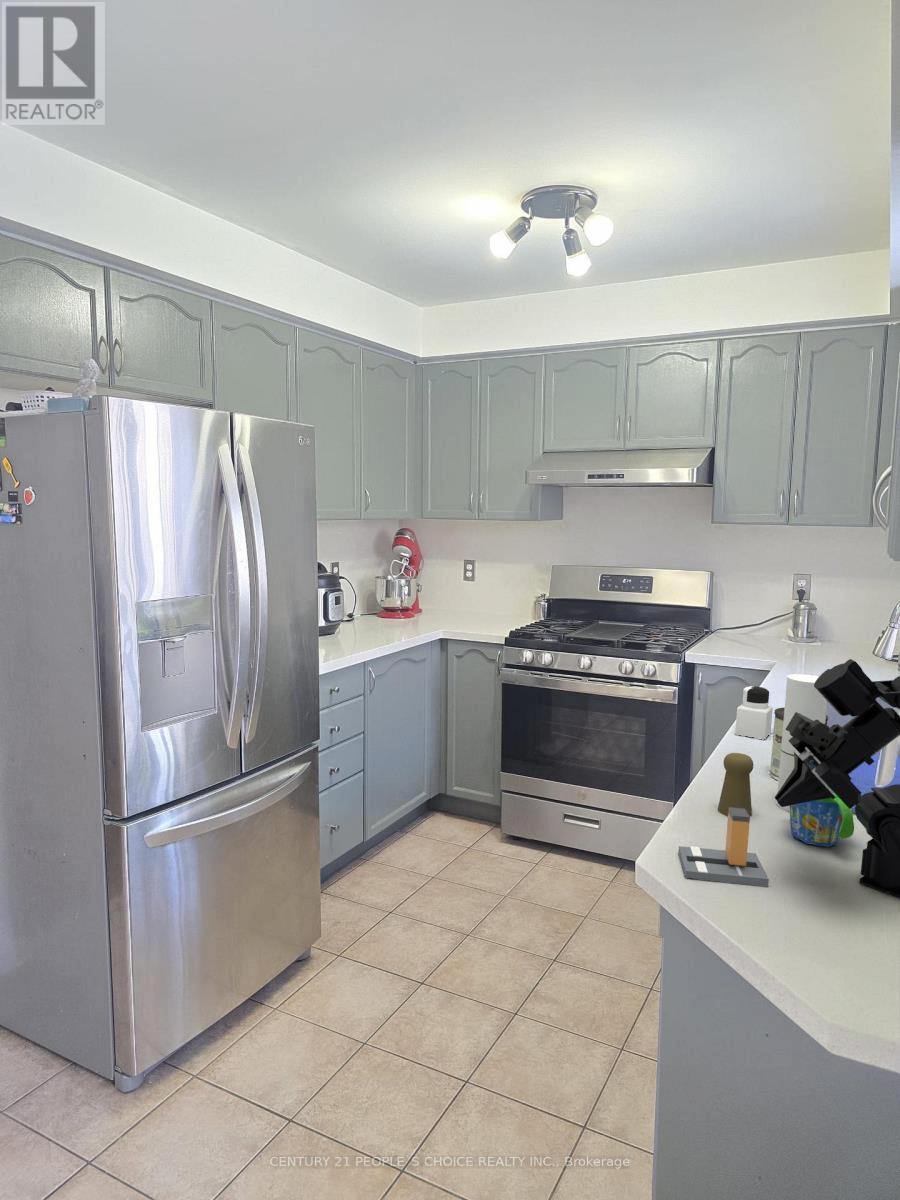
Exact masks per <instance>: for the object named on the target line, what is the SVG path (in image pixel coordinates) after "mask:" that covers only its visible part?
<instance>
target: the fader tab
mask: <svg viewBox="0 0 900 1200" xmlns="http://www.w3.org/2000/svg"><path fill="white" fill-rule="evenodd" d="M750 819H751V816H749V815H748V813H747V811H746V809H743V808H732V807H729V810H728V816H727V824H726V838H725V849H724V850H725V856H726V858H727V860H728V863H729V864H730V865H731V866H735V865H738V866H740V865H742V866H746V860H747V853H748V845H749V834H750V821H751V820H750Z"/></svg>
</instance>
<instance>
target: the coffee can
mask: <svg viewBox="0 0 900 1200" xmlns="http://www.w3.org/2000/svg"><path fill="white" fill-rule="evenodd" d="M784 709H785V706H784V707H778V708H776V709H774V722H773V723H774V724H773V733H772V734H773V735H772V746H771V747H772V748H771V759H770V761H771V762H770V769H769V770H770V772H769V775H770V777H771V778H772V779H773V780H775V779H776V780H775V781H778V780H779V768H780V757H781V745H782V733H783V721H784ZM828 720H829V716H828V714H826V720H825V724H826V725H827V726H828Z"/></svg>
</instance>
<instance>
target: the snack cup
mask: <svg viewBox="0 0 900 1200" xmlns="http://www.w3.org/2000/svg"><path fill="white" fill-rule="evenodd" d="M788 777H789V776H788ZM788 777H787V778H788ZM786 780H787V779H786ZM832 794H833V795H834V796H835V797H836V798H835V799H832V798H828V799H822V800H815V801H810V802H804V803H800V804H795V805H790V806H789V807H790V812H789V821H790V832H791V835H792V836H794V838H796V839H797V840H799V841H800V840H801V841H802V842H803V843H804V844H806V845H812V846H816V847H831V846H835V845H836V844H838V843H839V840H840V838H841V839H843V840H844V839H849V838H850V837H851V836H853V835H854V832H855V823H854V815H853V807H852V808H851V809H849V808H848V807H847V806H846V805H845V804H844V803H843V801H842V800H841V799H840V798H839V797H838V796H837V795H836V794H835V793H832Z"/></svg>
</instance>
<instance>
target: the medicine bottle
mask: <svg viewBox="0 0 900 1200" xmlns="http://www.w3.org/2000/svg"><path fill="white" fill-rule="evenodd" d="M769 701H770V691H769V690H768V689H767V688H765V687H762V686H751V685H750V686H746V687H744V688H743V692H742V704H740V705H739V706H738V707H737V708H736V717H735V718H736V719H735V720H736V721H735V732H734V735H736V736H738V735H741V736H740V737H744V736H750V737H755V738H761V739H765V740H766V739H767V738H768V737H769V736H768V735H770V734H771V731H772V719H773V706H772V705H769V703H770V702H769ZM767 736H768V737H767ZM766 737H767V738H766ZM755 738H754V739H755ZM761 739H760V740H761Z"/></svg>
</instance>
